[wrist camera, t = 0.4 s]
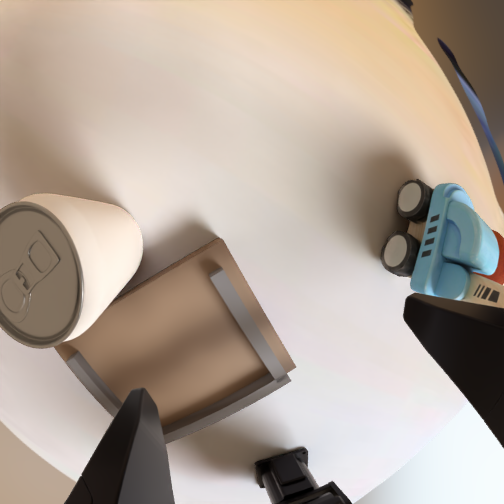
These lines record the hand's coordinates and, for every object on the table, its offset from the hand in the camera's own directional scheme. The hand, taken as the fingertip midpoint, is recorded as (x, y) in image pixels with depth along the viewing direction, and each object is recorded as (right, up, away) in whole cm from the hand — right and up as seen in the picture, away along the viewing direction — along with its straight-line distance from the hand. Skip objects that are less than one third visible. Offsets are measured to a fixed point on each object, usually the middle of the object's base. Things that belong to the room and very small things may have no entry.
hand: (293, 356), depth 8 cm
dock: (-8, -5, +13) cm, 16 cm away
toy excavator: (+15, +2, +18) cm, 24 cm away
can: (-12, +4, +11) cm, 17 cm away
